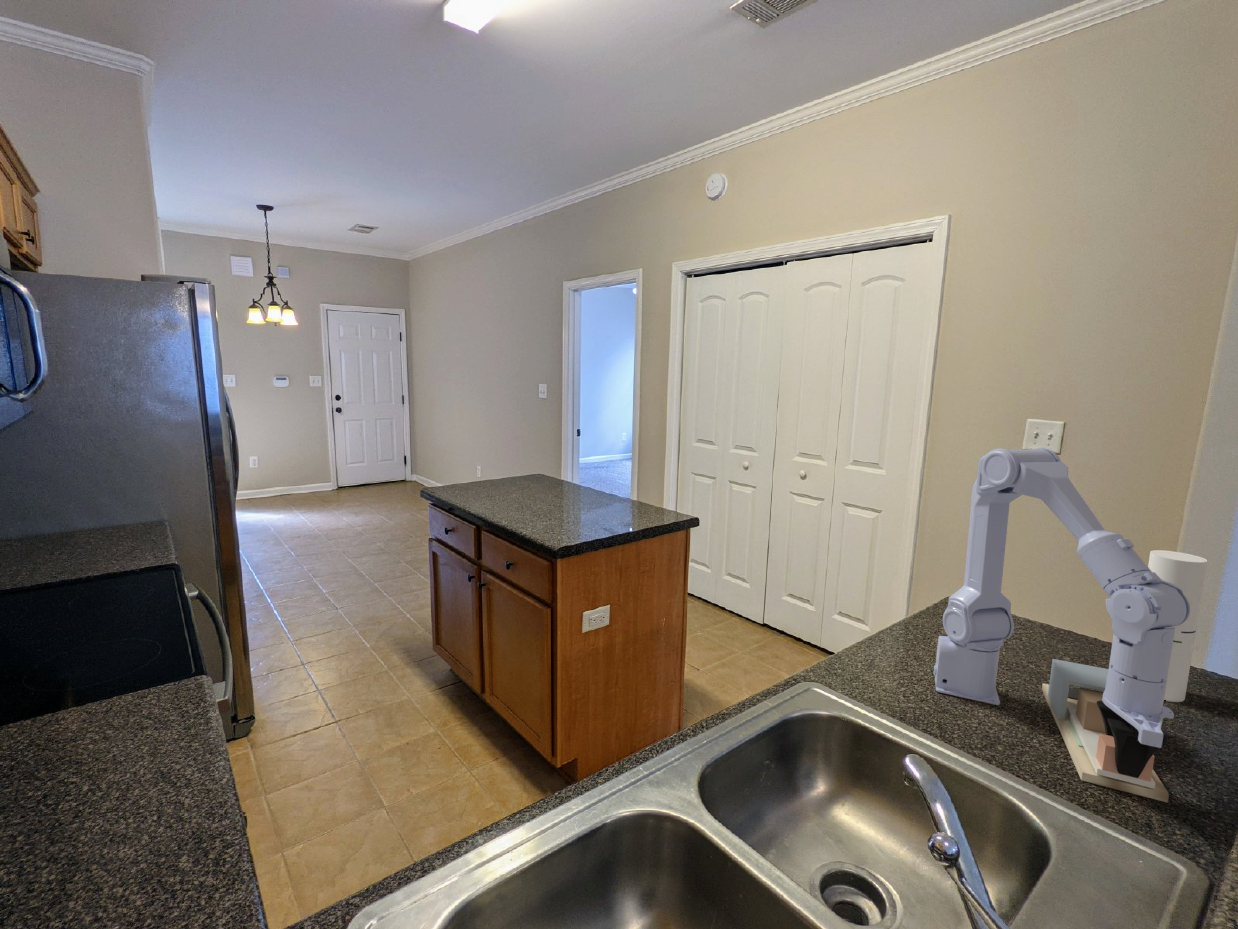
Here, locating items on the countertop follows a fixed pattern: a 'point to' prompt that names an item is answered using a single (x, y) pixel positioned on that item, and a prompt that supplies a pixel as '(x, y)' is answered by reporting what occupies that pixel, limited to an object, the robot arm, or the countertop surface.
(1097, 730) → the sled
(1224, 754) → the countertop surface
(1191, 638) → the cylindrical container
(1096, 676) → the tunnel
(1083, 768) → the board
